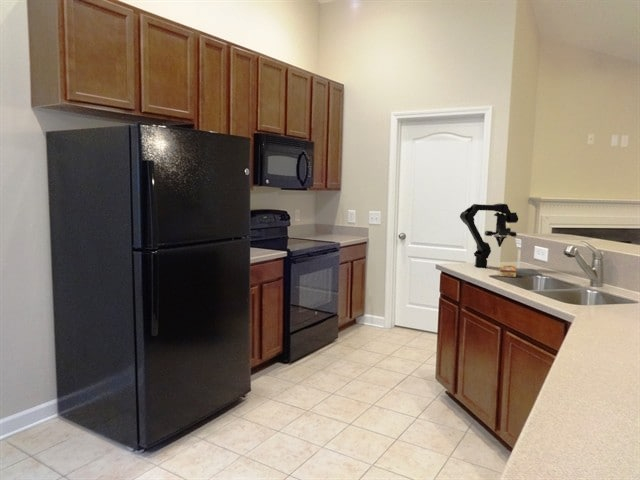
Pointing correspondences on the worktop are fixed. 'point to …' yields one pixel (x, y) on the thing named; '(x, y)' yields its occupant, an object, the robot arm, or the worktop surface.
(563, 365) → the worktop surface
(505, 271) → the candy box
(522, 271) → the mat
